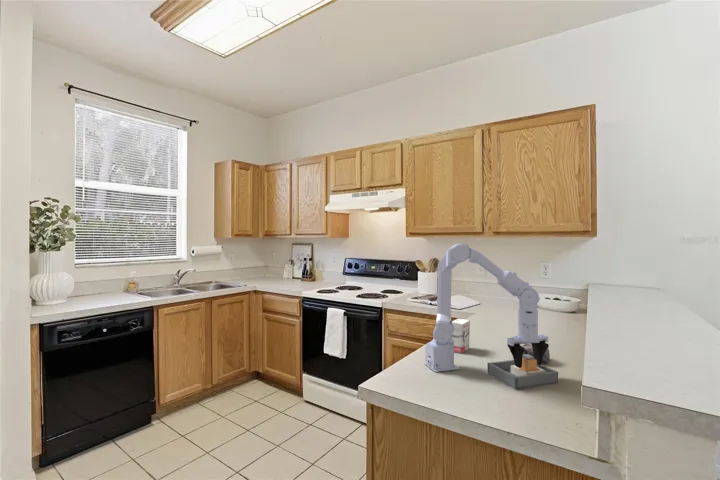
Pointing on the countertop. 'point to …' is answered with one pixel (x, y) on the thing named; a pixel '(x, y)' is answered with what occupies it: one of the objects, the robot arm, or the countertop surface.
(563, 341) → the countertop surface
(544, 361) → the pumice stone
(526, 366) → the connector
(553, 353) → the countertop surface
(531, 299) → the robot arm
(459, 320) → the ink box
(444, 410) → the countertop surface
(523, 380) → the walled box
